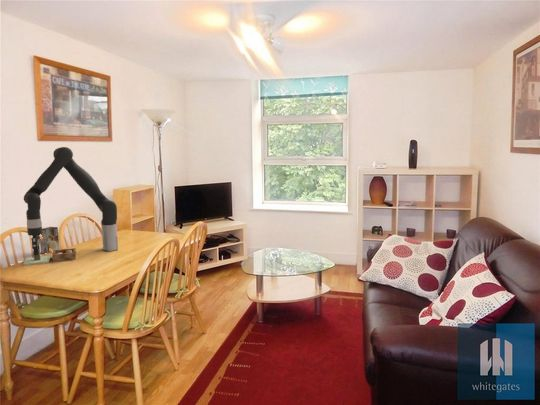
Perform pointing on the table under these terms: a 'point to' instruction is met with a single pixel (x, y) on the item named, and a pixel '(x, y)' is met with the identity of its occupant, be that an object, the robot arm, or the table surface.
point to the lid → (37, 259)
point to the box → (64, 255)
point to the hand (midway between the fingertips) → (36, 253)
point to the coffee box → (49, 239)
